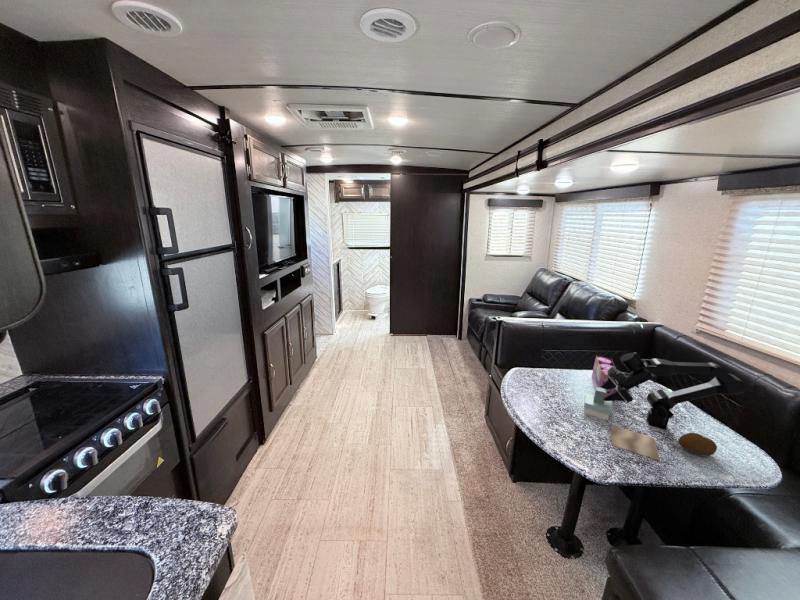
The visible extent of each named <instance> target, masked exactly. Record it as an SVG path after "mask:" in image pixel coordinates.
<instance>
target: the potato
mask: <svg viewBox="0 0 800 600" xmlns="http://www.w3.org/2000/svg"><path fill="white" fill-rule="evenodd" d="M677 441H678V445H679V446H680V447H681V448H683V449H684V450H686V451H688V452H690V453H692V454H694V455H697V456H701V457H702V456H703V457H709V456H713V455H715V454H716V452H717V450H718V446H717V444H716V443H715V441H714V440H712V439H710V438H709V437H707V436H703V435H702V434H700V433H695V432H688V433H685V434H683V435H681V436H680V437H678V440H677Z"/></svg>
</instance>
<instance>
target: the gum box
mask: <svg viewBox="0 0 800 600" xmlns="http://www.w3.org/2000/svg"><path fill="white" fill-rule="evenodd" d="M611 367H614V368H616V369H617V367H616V366H615V362H614V361H613V358H611V357H606V356H602V355H596V356H595V359H594V364H593V368H592V373H591V380H592V385H593V388H594V390H595V389H596V387H601V386H602V385H603V384H604V383H605V381H606V380H607V375H608V374H607V373H608V372H607V371H608V370H609V369H610V368H611ZM608 376H609V375H608ZM615 385H616V384H615ZM616 386H617V385H616ZM614 389H615V388H612V389H608V390H606V397H607V396H608V395H610V394H611V393H613V392H614Z"/></svg>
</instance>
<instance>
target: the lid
mask: <svg viewBox="0 0 800 600" xmlns="http://www.w3.org/2000/svg"><path fill="white" fill-rule="evenodd" d="M605 397H606V389H604V388H600V387H596V389H594V394H593V393H588V392H585V394H584V405H583V408H584V409H585V408H587V409H590V410H594V411H597V412H600V413H604V414H607V415H609V416H612V415H613V401H604V398H605Z"/></svg>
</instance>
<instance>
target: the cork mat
mask: <svg viewBox="0 0 800 600" xmlns="http://www.w3.org/2000/svg"><path fill="white" fill-rule="evenodd" d="M610 436H611V446H613V447H616V448H619V449H621V450H625V451H627V450H628V451H627V452H630V451H631V452H630V453H634V454H637V455H639V454H640V456H642V455H643V456H642V457H645V456H646V457H645V458H648V457H650V458H649V459H651V458H652V459H651V460H654V459H655V461H657V460H658V461H657V462H661V459H660V455H659V451H658V447H657V443H656V440H655V437H652V436H649V435H645V434H641V433H639V432H635V431H633V430H628V429H625V428H622V427H619V426H617V425H614V424H611V425H610Z"/></svg>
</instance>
